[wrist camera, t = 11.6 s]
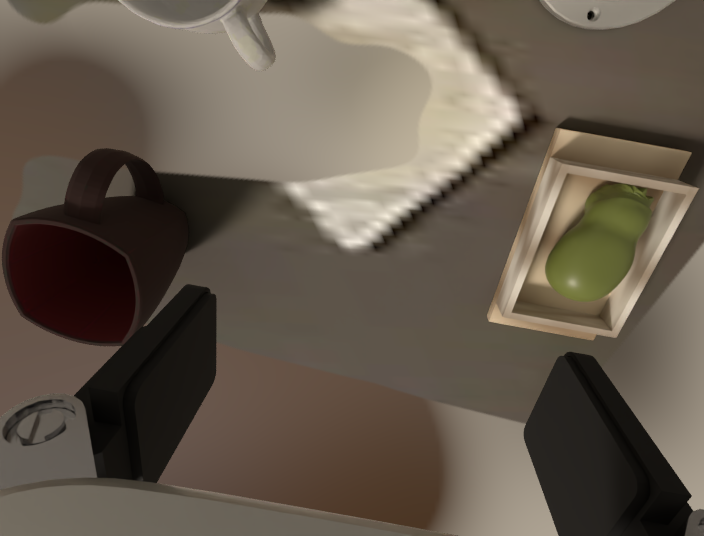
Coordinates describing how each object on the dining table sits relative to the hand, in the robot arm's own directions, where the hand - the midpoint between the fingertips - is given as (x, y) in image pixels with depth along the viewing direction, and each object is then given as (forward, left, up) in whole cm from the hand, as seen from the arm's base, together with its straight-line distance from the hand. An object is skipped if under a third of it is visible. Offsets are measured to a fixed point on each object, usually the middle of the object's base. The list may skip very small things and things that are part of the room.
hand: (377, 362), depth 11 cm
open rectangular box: (+4, +18, -26) cm, 32 cm away
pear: (+3, +18, -26) cm, 31 cm away
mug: (+8, -20, -26) cm, 34 cm away
